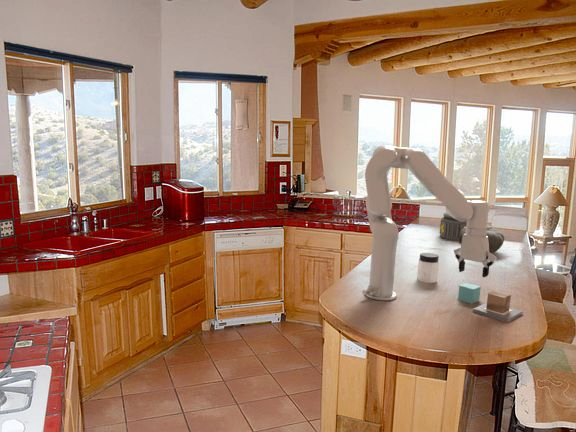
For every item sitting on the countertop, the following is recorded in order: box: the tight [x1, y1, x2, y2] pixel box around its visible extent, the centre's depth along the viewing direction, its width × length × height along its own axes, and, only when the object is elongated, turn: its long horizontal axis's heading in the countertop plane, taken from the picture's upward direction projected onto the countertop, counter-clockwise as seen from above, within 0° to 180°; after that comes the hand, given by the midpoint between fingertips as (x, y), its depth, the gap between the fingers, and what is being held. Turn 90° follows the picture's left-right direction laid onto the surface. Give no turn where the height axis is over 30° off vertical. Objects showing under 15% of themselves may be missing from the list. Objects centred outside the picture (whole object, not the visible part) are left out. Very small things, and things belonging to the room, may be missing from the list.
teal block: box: [457, 282, 482, 304], centre depth 193 cm, size 6×6×6 cm
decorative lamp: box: [439, 193, 467, 241], centre depth 315 cm, size 19×19×30 cm
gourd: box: [458, 224, 505, 254], centre depth 278 cm, size 25×25×17 cm
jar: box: [416, 252, 440, 284], centre depth 218 cm, size 9×8×12 cm
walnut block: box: [486, 290, 512, 313], centre depth 180 cm, size 6×6×6 cm
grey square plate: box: [472, 302, 524, 323], centre depth 180 cm, size 13×13×1 cm
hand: (473, 273), depth 192 cm, fingers open, 9 cm apart
